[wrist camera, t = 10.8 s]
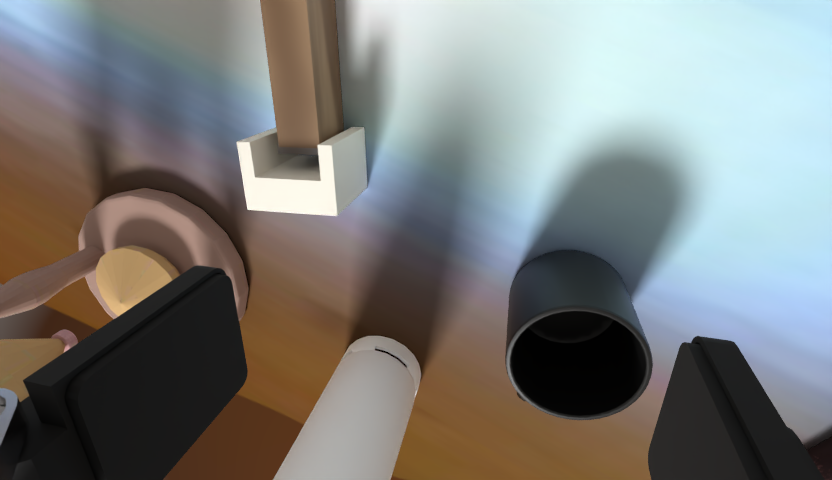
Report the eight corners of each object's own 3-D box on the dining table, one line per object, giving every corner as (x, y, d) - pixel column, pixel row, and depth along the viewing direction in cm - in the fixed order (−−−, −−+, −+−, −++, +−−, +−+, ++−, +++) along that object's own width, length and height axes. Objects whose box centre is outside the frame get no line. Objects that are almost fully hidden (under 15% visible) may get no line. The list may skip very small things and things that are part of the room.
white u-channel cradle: (348, -177, 29) (300, -235, 23) (367, 187, 39) (337, 216, 33) (248, -167, 31) (177, -219, 24) (290, 182, 40) (247, 209, 34)
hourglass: (274, 249, 44) (8, 475, 21) (221, 368, 51) (-13, 624, 29) (110, 152, 43) (-337, 277, 21) (83, 286, 51) (-264, 482, 29)
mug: (474, 330, 42) (462, 400, 34) (549, 227, 37) (556, 280, 29) (563, 381, 42) (572, 462, 34) (651, 285, 37) (686, 354, 29)
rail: (329, -102, 31) (296, -126, 27) (346, 141, 38) (321, 155, 33) (282, -99, 32) (243, -121, 27) (307, 140, 38) (278, 153, 34)
